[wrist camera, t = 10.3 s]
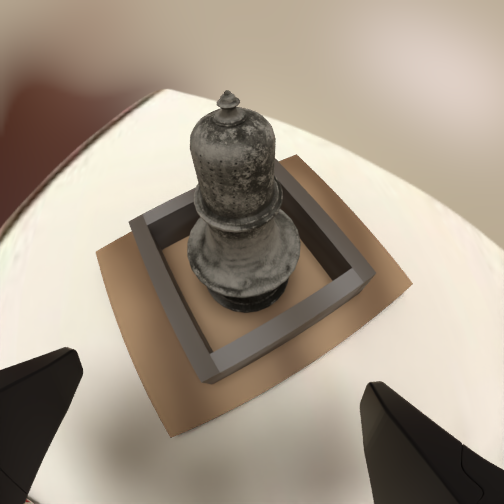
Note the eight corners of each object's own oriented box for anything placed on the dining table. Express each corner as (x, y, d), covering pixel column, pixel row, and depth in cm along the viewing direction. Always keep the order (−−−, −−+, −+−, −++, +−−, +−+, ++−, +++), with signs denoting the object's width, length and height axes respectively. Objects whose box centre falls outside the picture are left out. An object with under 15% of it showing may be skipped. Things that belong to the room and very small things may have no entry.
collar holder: (177, 434, 14) (151, 445, 10) (104, 260, 20) (75, 230, 16) (403, 292, 18) (434, 264, 14) (295, 166, 24) (299, 126, 20)
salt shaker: (226, 335, 15) (154, 196, 5) (185, 256, 18) (115, 93, 8) (311, 287, 17) (375, 116, 6) (263, 219, 19) (262, 48, 9)
